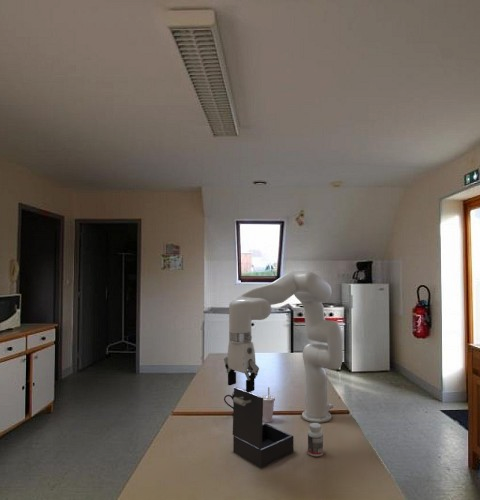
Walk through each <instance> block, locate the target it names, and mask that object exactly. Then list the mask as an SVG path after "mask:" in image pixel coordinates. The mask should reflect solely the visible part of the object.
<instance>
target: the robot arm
mask: <svg viewBox="0 0 480 500" xmlns="http://www.w3.org/2000/svg"><path fill="white" fill-rule="evenodd" d="M332 293H333V292H332V287H331V285H330V284H329V282H327V281H326V280H325V279H323V278H322V277H321V276H319V275H318V274H316V273H315V272H313V271H308V270H307V271H306V270H302V271H301V270H292V271H289V272H287V273H285V274H283V275H282V276H280V277H279V278H278V279H276V280H274V281H272V282H271V283H268V284H264V285H261V286H258V287H255V288H252V289H250V290H248V291H245V292H244V293H243V294H241V295H240V296H238V297H237V298H236V299H235V300H231V301H230V302H229V304H228V335H229V336H228V337H229V338H228V339H229V340H228V345H227V356H226V357H224V358H223V362H224V364H225V365H224V367H225V369H226V373H227V386H232V385H236V384H237V372H238V373H241V374H244V375H245V377H246V379H245V390H246V392H254V391H255V379H256V378H257V377H258V374H259V371H260V367H259V366H258V365H257V363H256V351H255V344H254V341H252V339H253V335H252V321H262V320H266V319H267V318H268V317H269V316H270V315H271V313H272V305H278V304H282V303H284V302H286V301H287V300H289V299H290V298H291V297H292V296H295V298H296V300H298V301H299V302H300V303H301V305H302V306H303V311H304V324H305V325H304V326H305V327H304V329H305V336H306V339H308V340H309V341H312V342H313V343H308V344H306V345H305V346H304V347H303V350H302V360H303V365H304V379H305V380H304V381H305V382H304V387H305V388H304V390H305V391H304V393H305V395H304V396H305V398H304V399H305V400H304V401H305V406H304V407H305V410H304V411H303V412H301V417H302V419H303V420H305V421H307V422H310V423H318V424H321V423H326V422H329V421H330V420H331V419H332V414H331V413H330V412H329V411H330V410H331V409H333V408H334V404H333V403H329V404H328V375H327V372H326V369H328V370H339V369H340V368H341V367H342V365H343V360H344V353H343V351H344V349H343V330H342V327H341V325H340V324H339V323H338V322H337V321H335V320H328V319H326V317H325V308H324V305H323V303H326V302H328V301H330V300H331V298H332ZM314 342H319V343H314ZM323 343H324V344H323Z"/></svg>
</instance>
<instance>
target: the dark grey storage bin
mask: <svg viewBox="0 0 480 500" xmlns="http://www.w3.org/2000/svg"><path fill="white" fill-rule="evenodd" d="M232 436H233V440H232V442H233V443H232V445H233V446H232V447H233V449H232V450H233V452H232V453H233V454H234V455H235V454H236V455H237V456H239V457H241V458H242V459H244V460H246V461H248V462H249V463H251V464H253V465H254V466H256V467H258V468H259V469H263V468H265V467H267V466H269V465H271V464H273V463H275V462H277V461H279V460H281V459H283V458H285V457H287V456H289V455H291V454H293V453H294V452H295V451H294V435H293V434H290V433H288V432H286V431H285V430H281V429H279V428H277V427H275V426H273V425H270V424H268V423H267V422H264V423H263V426H262V449H259V448H257V447H255V446H253V445H251V444H249V443H247V442H245V441H243V440H242V439H240V438H238V437H236V436H234V435H232Z"/></svg>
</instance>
